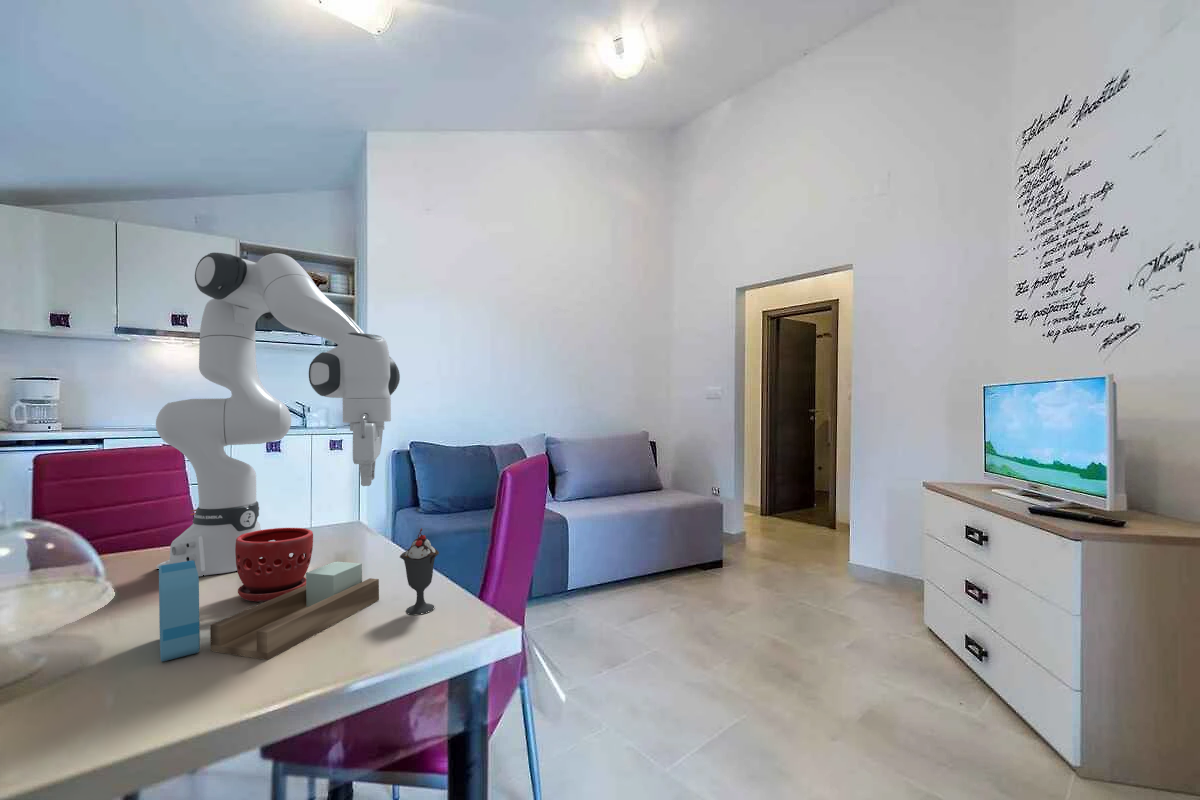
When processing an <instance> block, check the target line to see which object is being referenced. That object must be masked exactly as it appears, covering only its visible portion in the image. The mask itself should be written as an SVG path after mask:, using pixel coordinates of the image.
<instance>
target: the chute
mask: <svg viewBox="0 0 1200 800" xmlns="http://www.w3.org/2000/svg"><path fill="white" fill-rule="evenodd" d="M378 601H380V580H379V578H372V577H371V578H368V579H366V580H362V582H361V583H359V584H357V585H354V586H352V587H350V588H348V589H346V590H344V591H342V592H339V593H337V594H335V595H333V596H331V597H329V598H327V599H324V600H322V601H320V602H318V603H316V604H314V605H311V606H309V607H306V585H305V586H303V587H300V588H298V589H295V590H293V591H291V592H288V593H286V594H283V595H281V596H279V597H276V598H274V599H271V600H269V601H265V602H262V603H259V604H258V605H254V606H253V607H250V608H247V609H245V610H243V611H240V612H238V613H236V614H235V613H234V614H233V615H230V616H228V617H226V618H223V619H221V620H218V621H216V622H214V623H211V624H210V629H209V631H210V632H209V633H210V652H214V653H220V654H221V653H222V654H227V655H234V656H238V657H239V656H240V657H247V658H251V659H252V658H253V659H259V660H267V661H269V660H270V659H272V658H274V657H276V656H277V655H280V654H281V653H283V652H285V651H287V650H289V649H291V648H292V647H295V646H297V645H299V644H300V643H301V642H303V641H306V640H307V639H309V638H312V637H313V636H315V635H317V634H319V633H321V632H323V631H325V630H326V629H328V628H329V627H332V626H334V625H335V624H337V623H339V622H341V621H343V620H345V619H347V618H349V617H351V616H352V615H354V614H356V613H358V612H360V611H362V610H364V609H365V608H367V607H369V606H371V605H373V604H375V603H377V602H378Z"/></svg>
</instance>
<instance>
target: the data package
mask: <svg viewBox="0 0 1200 800" xmlns="http://www.w3.org/2000/svg"><path fill="white" fill-rule="evenodd" d="M199 577H200V576H199ZM199 577H198V572H197V568H196V565H195V562H194V561H193V560H192V561H186V562H179V563H173V564H167V565H161V566H159V570H158V600H159V602H158V603H159V604H158V606H159V607H158V609H159V614H158V616H159V653H160V655H159V657H160V661H161V662H162V663H163V662H166V661H167V662H168V661H170V660H176V659H178V658H183V657H186V656H191V655H194V654H198V653H200V650H201V649H200V647H201V645H200V643H201V640H200V638H201V637H200V635H201V634H200V631H201V630H200V580H199V579H200V578H199Z"/></svg>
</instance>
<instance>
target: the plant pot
mask: <svg viewBox="0 0 1200 800" xmlns="http://www.w3.org/2000/svg"><path fill="white" fill-rule="evenodd" d="M313 546H314V531H312V530H310V529H308V528H303V527H301V528H300V527H274V528H267V529H261V530H259V531H254V532H249V533H245V534H242V535H240V536H239V537H237V539H236V546H235V555H236V566H237V575H238V577H239V579H240V582H241V583H242V585H240V586H239V588H238V589H237V593H238V596H240V597H241V598H242V599H244V600H245V601H249V602H257V603H258V602H260V603H261V602H262V603H264V602H266V601H269V600H271V599H274V598H276V597H279V596H281V595H283V594H286V593H288V592H291V591H293V590H295V589H298V588H300V587H303V586H305V585H306V573H307V572H308V569H309V567H310V564H311V559H312V554H313ZM290 554H292V556H290ZM261 557H263V558H261ZM260 558H261V559H260Z"/></svg>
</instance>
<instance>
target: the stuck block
mask: <svg viewBox="0 0 1200 800" xmlns="http://www.w3.org/2000/svg"><path fill="white" fill-rule="evenodd" d="M305 578H306V607H309V606H311V605H314V604H316V603H318V602H320V601H322V600H324V599H327V598H329V597H331V596H333V595H335V594H337V593H339V592H342V591H344V590H346V589H348V588H350V587H352V586H354V585H357V584H359V583H361V582H363V563H357V562H346V561H345V562H344V561H343V562H342V561H333V562H330V563H329V564H325V565H322V566H320V567H317V568H314V569H313V570H310V571H307V572H306V574H305Z"/></svg>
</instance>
